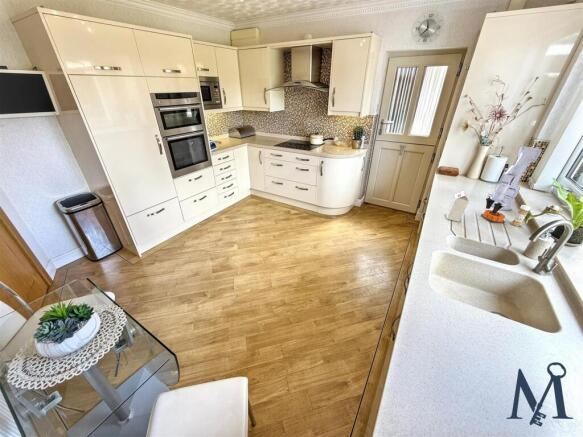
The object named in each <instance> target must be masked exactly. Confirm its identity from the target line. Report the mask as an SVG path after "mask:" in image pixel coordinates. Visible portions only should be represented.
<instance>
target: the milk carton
mask: <svg viewBox="0 0 583 437" xmlns="http://www.w3.org/2000/svg"><path fill="white" fill-rule="evenodd" d="M469 203H470V199H469V197H468V196H467V195H466V192H465V190H464V189H463V190H462V191H461V192H458V193H455V194H454V195H453V197H452V200H451V202H450V204H449V206H448V208H447V211H446V213H445V217H446V220H450V221H453V222H458V223H460V222H461V219H462V217H463V215H464V213H465V211H466V209H467V207H468V205H469Z"/></svg>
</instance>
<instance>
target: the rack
mask: <svg viewBox="0 0 583 437" xmlns="http://www.w3.org/2000/svg"><path fill="white" fill-rule="evenodd" d="M493 215H495V216H496V215H497V214H496V213H493ZM480 216H481V217H483V218H484V219H485V220H486V221H488V222H489V223H497V224H499V223H500V224H504V223H505V222H506V220H505V219H504V220H503V221H501V222H497V221H493V220H490V219H487V218H485V217H484V216H483V213H481V215H480Z"/></svg>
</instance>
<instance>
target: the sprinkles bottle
mask: <svg viewBox="0 0 583 437" xmlns="http://www.w3.org/2000/svg"><path fill="white" fill-rule="evenodd" d="M531 210H532V207H531V206H529V205H527V204H522V205H521V206H520V207H519V210H518V211H517V212H516V214H515V216H514V218H513V219H512V221H511V223H510V224H511V225H512V226H515V227H520V226H521V224H522V223H523V222H524V220H525V218H526V217H527V215H528V213H529V212H530V211H531Z"/></svg>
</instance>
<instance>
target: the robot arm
mask: <svg viewBox="0 0 583 437" xmlns="http://www.w3.org/2000/svg"><path fill="white" fill-rule="evenodd" d="M542 151H543V150H542V148H537V147H532V146H531V147H530V146H525V145H522V146H521V147H520V148H519V150H518V152H517V158H518V159H517V160H516V162H515V163H514V164H513V165H511V166H510V167H509V168H508V169H507V171H506V172H505V173H503V174H502V175H501V176H500V178H499V180H498V183H497V187H496V189H495V191H494V193H493V194H492V193H488V194H487V195H486V198H485V200H486V204H485V210H491V207H493V209H492V210H493V211H492V213H496V212H499V211H500V210H503V211H512V207H513V206H514V204H515V202H516V199H515V198H516V197H517V195H518V194H519V192H520V190H521V188H520V186H519V185H518V183H519V182H520V180H521V178H522V177H523V175H524V173H525V171H526V170H527V168H528V166H529V165H530V164H531V163H532V162H536V161H537V160H538V158H539V157H540V155H541V154H542Z"/></svg>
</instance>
